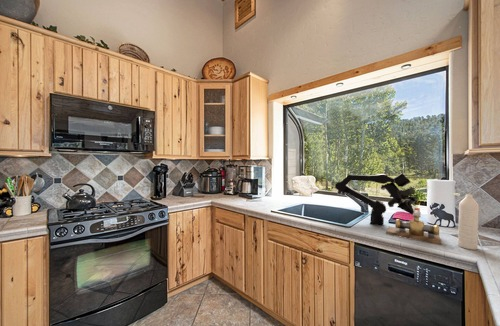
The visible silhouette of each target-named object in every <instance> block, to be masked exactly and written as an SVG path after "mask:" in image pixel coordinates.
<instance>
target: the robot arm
mask: <svg viewBox="0 0 500 326" xmlns="http://www.w3.org/2000/svg"><path fill="white" fill-rule="evenodd" d="M351 181H357V182H358V181H361V182H373V183H378V184H381V186H380V189H381V190H382V191H385V190H386V192H387V193H388V194H389V197H390V198H391V199H390V200H389V201H388V202H387V205H388V207H389V208H393V207H395V205H397V207H396V208H399V209H401V210H402V211H405V212H406V213H408V214H410V215H412V216H413V211H414V208H413V206H412V204H414V203H415V202H417V201H418V200H419V198H418V197H417V196H415V195H416V190H415V189H414V188H412V187H410V188H406V189H404V190H403V189H400V187H401V188H403V187H405V186H406V185H409V184H411V183H412V181H411V180H410V179H409V178H408V177H407V176H406V175H405V174H404V173H402V172H401V173H400V174H398V175H397V176H395V177H392V176H388V175H387V174H386V173H379V174H371V175H369V174H352V173H351V174H348V175H347V176H346V177H345V178H343V180H341V181H338V182H337V183H335V189H336V190H337V191H340V192H342V193H346V194H348V195H350V196H352V197H353V198H355V199H357V200H359V201H361V202H362V203H365V204H366V205H368V206H369V207H370V208H371V213H370V223H369V225H374V226H380V227H382V226H383V225H384V224H385V223H384V222H385V218H384V216H383V215H384V213H386V211H387V206H386V205H385V203H384V201H380V200H379V199H378V198H376V199H375V200H374V199H372V198H370V197H368V196H366V195H364V194H362V193H361V192H359V191H357V190H356V189H354V188H352V187H351V186H350V185H349V183H350V182H351ZM411 195H412V196H411Z"/></svg>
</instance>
